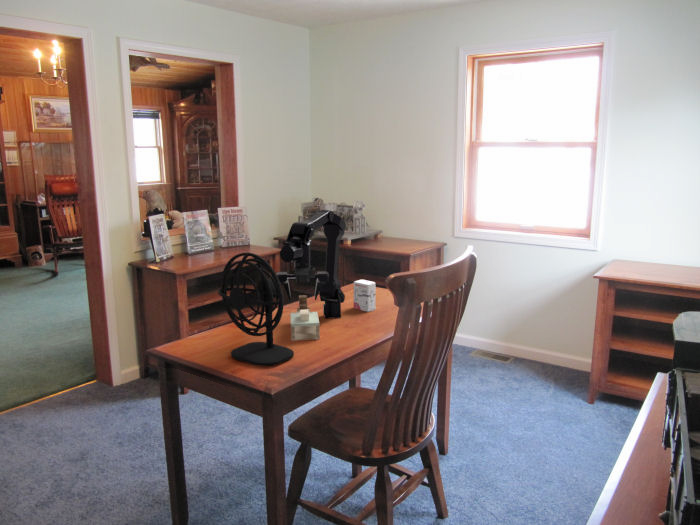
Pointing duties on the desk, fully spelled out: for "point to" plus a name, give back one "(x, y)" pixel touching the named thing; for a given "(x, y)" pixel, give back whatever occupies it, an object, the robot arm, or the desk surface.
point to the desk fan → (266, 292)
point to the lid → (304, 318)
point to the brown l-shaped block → (302, 302)
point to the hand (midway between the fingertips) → (302, 300)
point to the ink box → (364, 295)
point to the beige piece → (305, 331)
